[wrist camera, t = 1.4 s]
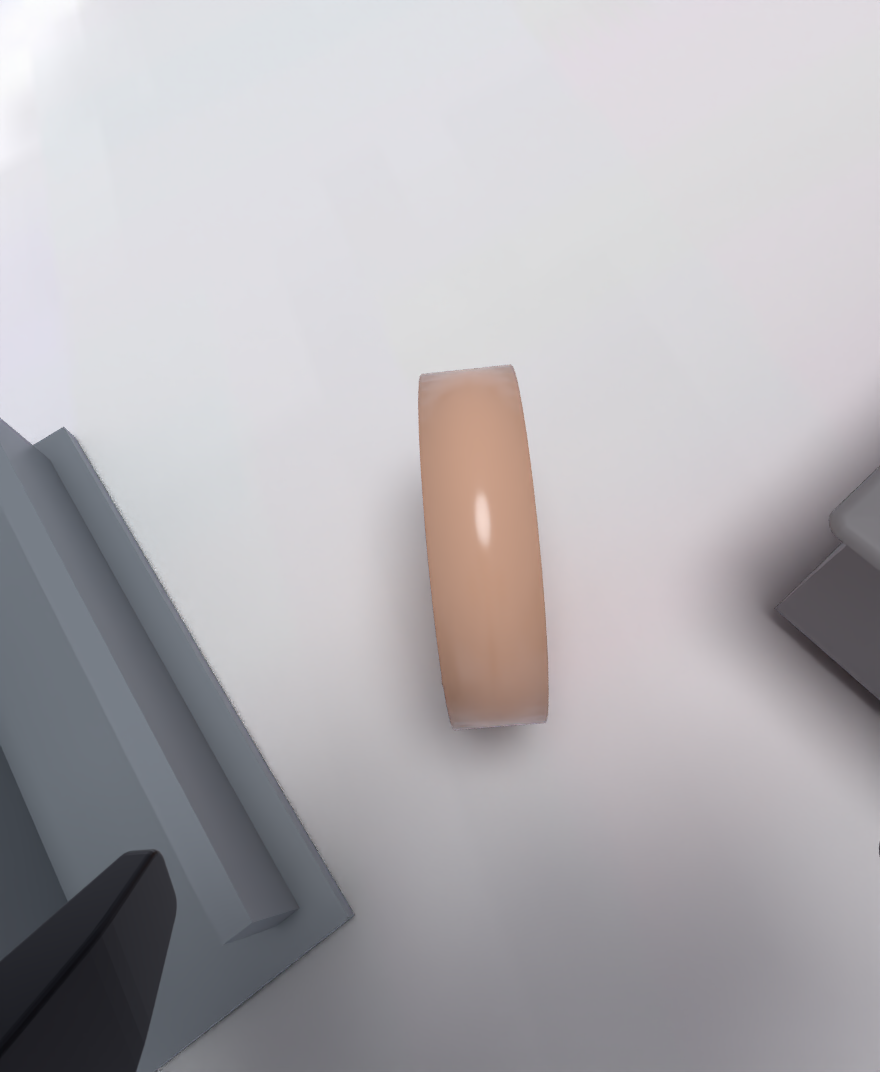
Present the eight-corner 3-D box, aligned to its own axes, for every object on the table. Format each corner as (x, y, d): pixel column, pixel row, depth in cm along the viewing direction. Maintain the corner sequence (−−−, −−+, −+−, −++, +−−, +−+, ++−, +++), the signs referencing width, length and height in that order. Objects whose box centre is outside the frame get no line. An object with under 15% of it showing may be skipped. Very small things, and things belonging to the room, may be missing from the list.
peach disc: (554, 748, 22) (587, 678, 13) (449, 755, 22) (406, 693, 13) (522, 484, 25) (529, 280, 16) (431, 492, 26) (388, 296, 16)
